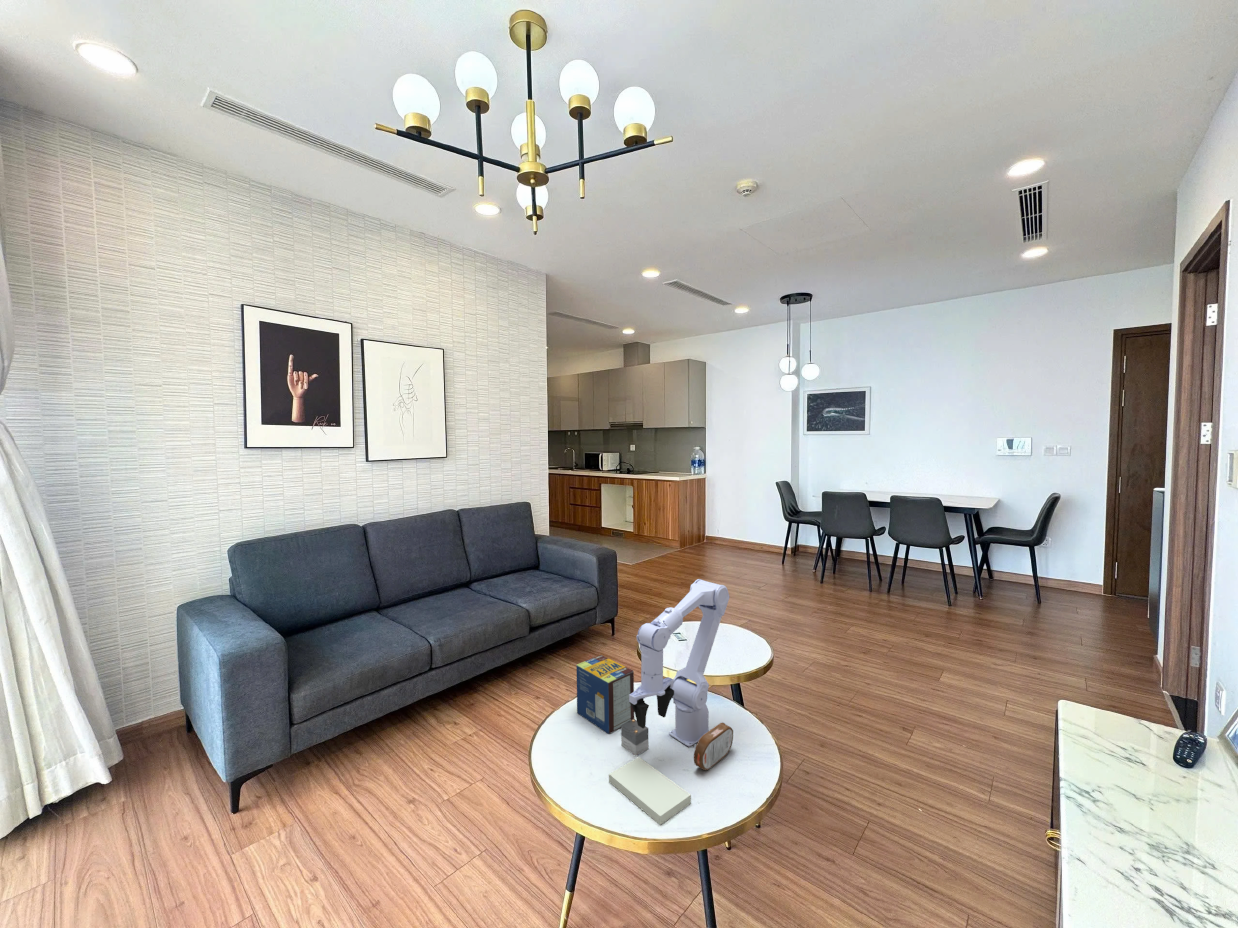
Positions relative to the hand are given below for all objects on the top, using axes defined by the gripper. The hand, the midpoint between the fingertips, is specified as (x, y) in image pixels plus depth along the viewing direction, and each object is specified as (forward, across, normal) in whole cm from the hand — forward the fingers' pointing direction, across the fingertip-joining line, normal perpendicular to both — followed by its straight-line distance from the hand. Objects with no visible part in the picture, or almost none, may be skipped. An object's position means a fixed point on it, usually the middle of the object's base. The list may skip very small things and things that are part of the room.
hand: (651, 720), depth 131 cm
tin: (+10, +12, -12) cm, 20 cm away
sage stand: (+11, -9, -8) cm, 16 cm away
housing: (+10, 0, +7) cm, 12 cm away
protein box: (+11, +3, +24) cm, 26 cm away
